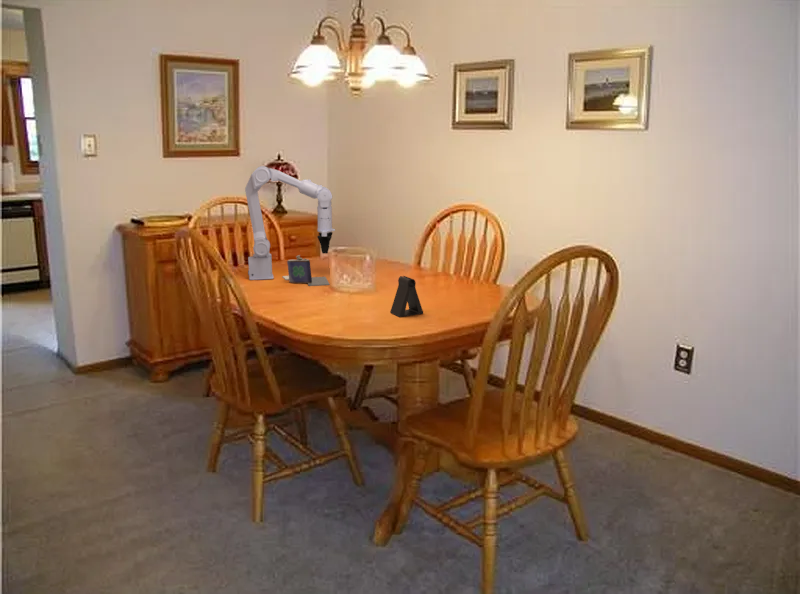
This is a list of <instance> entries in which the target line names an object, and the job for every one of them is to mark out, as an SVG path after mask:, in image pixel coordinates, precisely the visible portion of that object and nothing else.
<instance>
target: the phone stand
mask: <svg viewBox="0 0 800 594" xmlns="http://www.w3.org/2000/svg"><path fill="white" fill-rule="evenodd" d="M397 281H398V286H397V288H396V293H395V295H394V299H393V302H392V305H391V309H390V314H392V315H395V316H396V317H397V318H404V317H411V316H418V315H423V314H424V310H423V308H422V307H423V306H422V304H421V301H420V298H419V295H418V293H417V289H416V280H415V279H414V278H411V277H408V276H406V275H403V276H399V277H398V280H397ZM407 306H408V308H407Z"/></svg>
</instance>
